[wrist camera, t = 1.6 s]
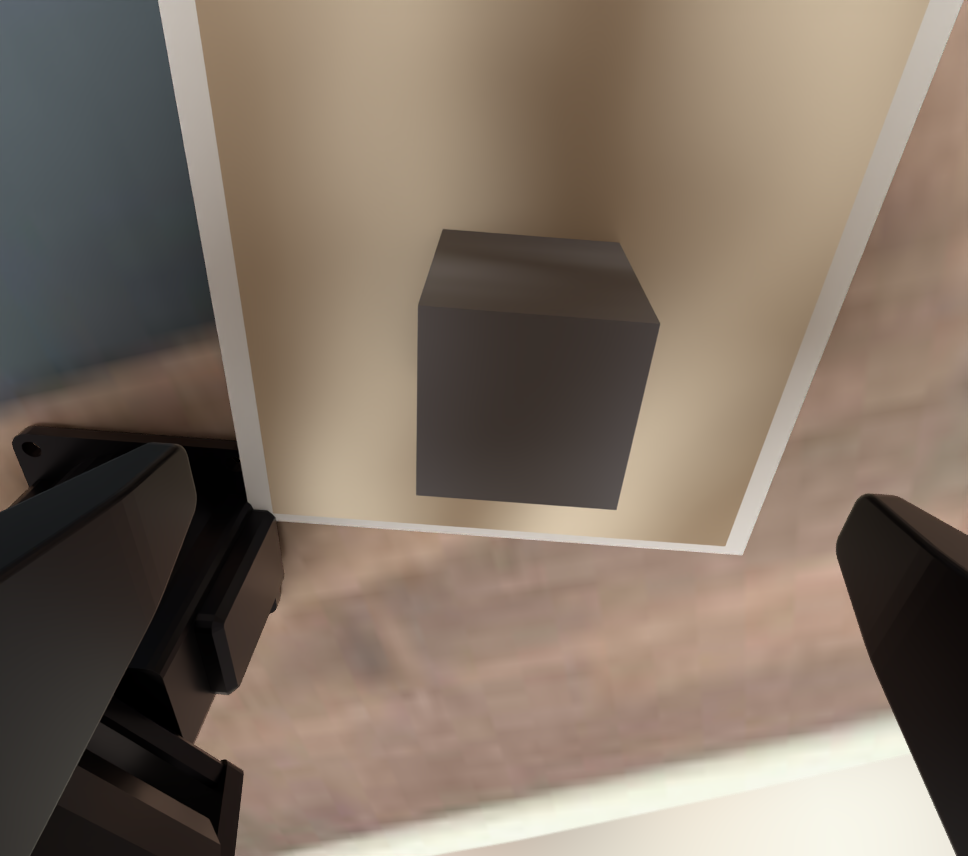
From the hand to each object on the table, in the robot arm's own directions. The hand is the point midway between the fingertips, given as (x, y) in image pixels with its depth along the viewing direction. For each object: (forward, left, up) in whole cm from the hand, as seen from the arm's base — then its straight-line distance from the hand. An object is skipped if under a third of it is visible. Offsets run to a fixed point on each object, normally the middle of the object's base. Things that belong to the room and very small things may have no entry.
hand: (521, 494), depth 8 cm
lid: (0, 0, -7) cm, 7 cm away
